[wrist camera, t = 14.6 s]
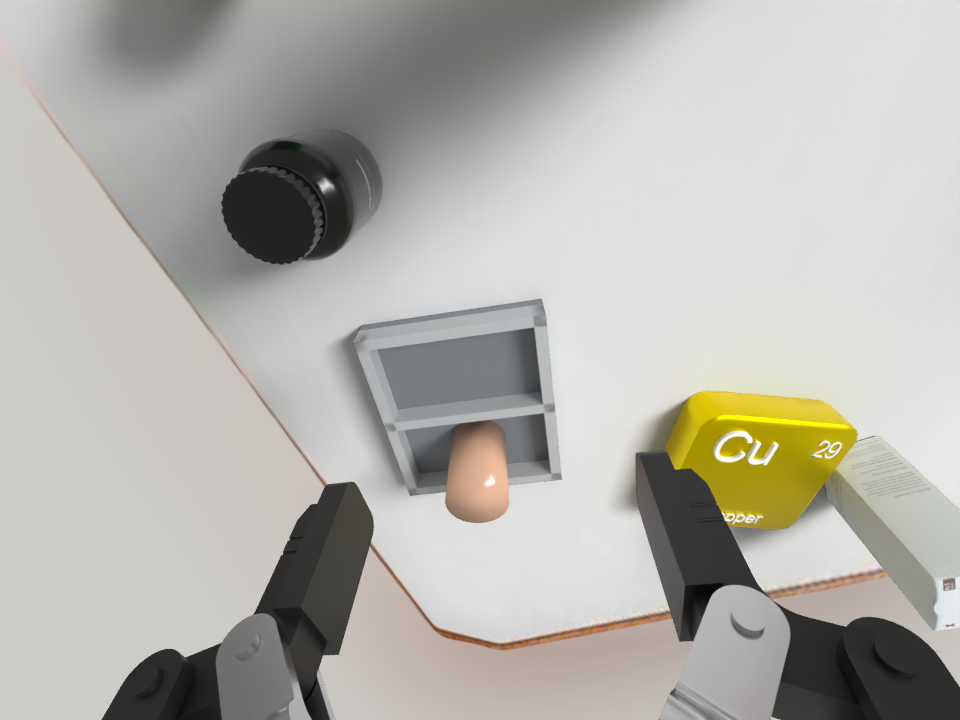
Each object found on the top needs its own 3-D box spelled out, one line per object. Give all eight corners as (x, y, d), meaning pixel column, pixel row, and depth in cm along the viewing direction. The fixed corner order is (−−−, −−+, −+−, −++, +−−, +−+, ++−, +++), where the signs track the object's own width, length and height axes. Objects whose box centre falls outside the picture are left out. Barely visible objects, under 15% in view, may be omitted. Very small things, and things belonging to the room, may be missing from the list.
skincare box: (881, 481, 48) (1019, 620, 36) (822, 498, 50) (934, 637, 37) (878, 430, 44) (1032, 566, 32) (814, 450, 46) (937, 587, 33)
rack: (541, 299, 37) (545, 314, 35) (557, 458, 47) (561, 479, 45) (361, 325, 39) (352, 342, 36) (414, 474, 49) (410, 495, 46)
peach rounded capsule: (501, 414, 43) (504, 476, 36) (508, 455, 46) (512, 519, 39) (446, 421, 43) (439, 484, 36) (457, 460, 46) (452, 525, 39)
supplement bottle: (403, 181, 32) (364, 225, 22) (347, 243, 35) (290, 309, 25) (326, 103, 30) (243, 113, 20) (272, 177, 32) (174, 220, 22)
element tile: (643, 490, 50) (656, 526, 46) (688, 386, 42) (710, 417, 38) (768, 500, 51) (793, 536, 47) (837, 399, 43) (873, 432, 39)
